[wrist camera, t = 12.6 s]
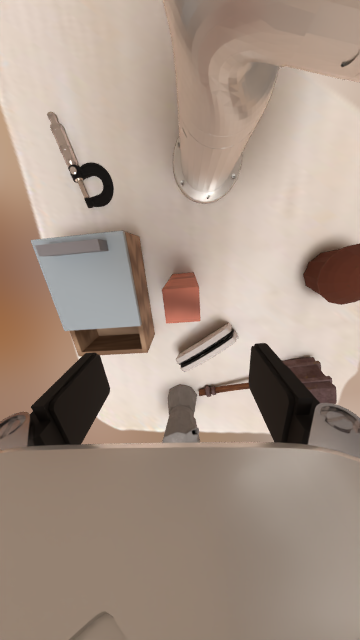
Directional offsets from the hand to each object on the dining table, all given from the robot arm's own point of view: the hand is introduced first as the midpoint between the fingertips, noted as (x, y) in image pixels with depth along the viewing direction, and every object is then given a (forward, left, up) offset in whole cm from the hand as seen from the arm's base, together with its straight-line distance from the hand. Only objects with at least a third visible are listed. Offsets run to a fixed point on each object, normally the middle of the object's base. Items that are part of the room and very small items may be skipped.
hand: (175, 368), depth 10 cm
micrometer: (-24, -17, -33) cm, 44 cm away
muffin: (0, +32, -32) cm, 45 cm away
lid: (-2, -17, -23) cm, 29 cm away
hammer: (+29, +18, -32) cm, 47 cm away
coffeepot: (+36, -4, -32) cm, 49 cm away
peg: (0, 0, -32) cm, 32 cm away
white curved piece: (+16, +4, -32) cm, 37 cm away
